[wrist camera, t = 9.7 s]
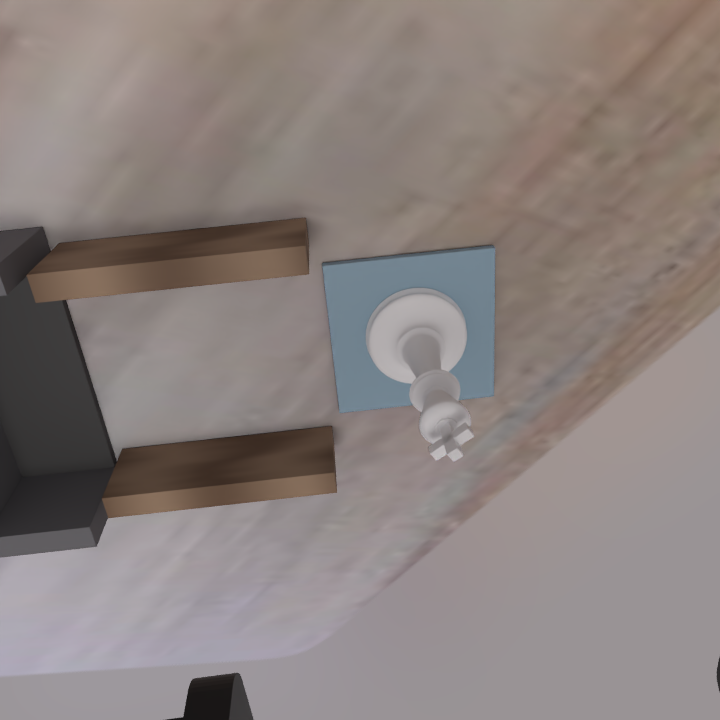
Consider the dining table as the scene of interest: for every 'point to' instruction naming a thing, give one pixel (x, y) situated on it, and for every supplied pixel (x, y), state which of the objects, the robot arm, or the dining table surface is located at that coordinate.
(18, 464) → the grey channel bracket
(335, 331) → the pad
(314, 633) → the dining table surface
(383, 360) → the chess piece
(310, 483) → the wooden blocks
